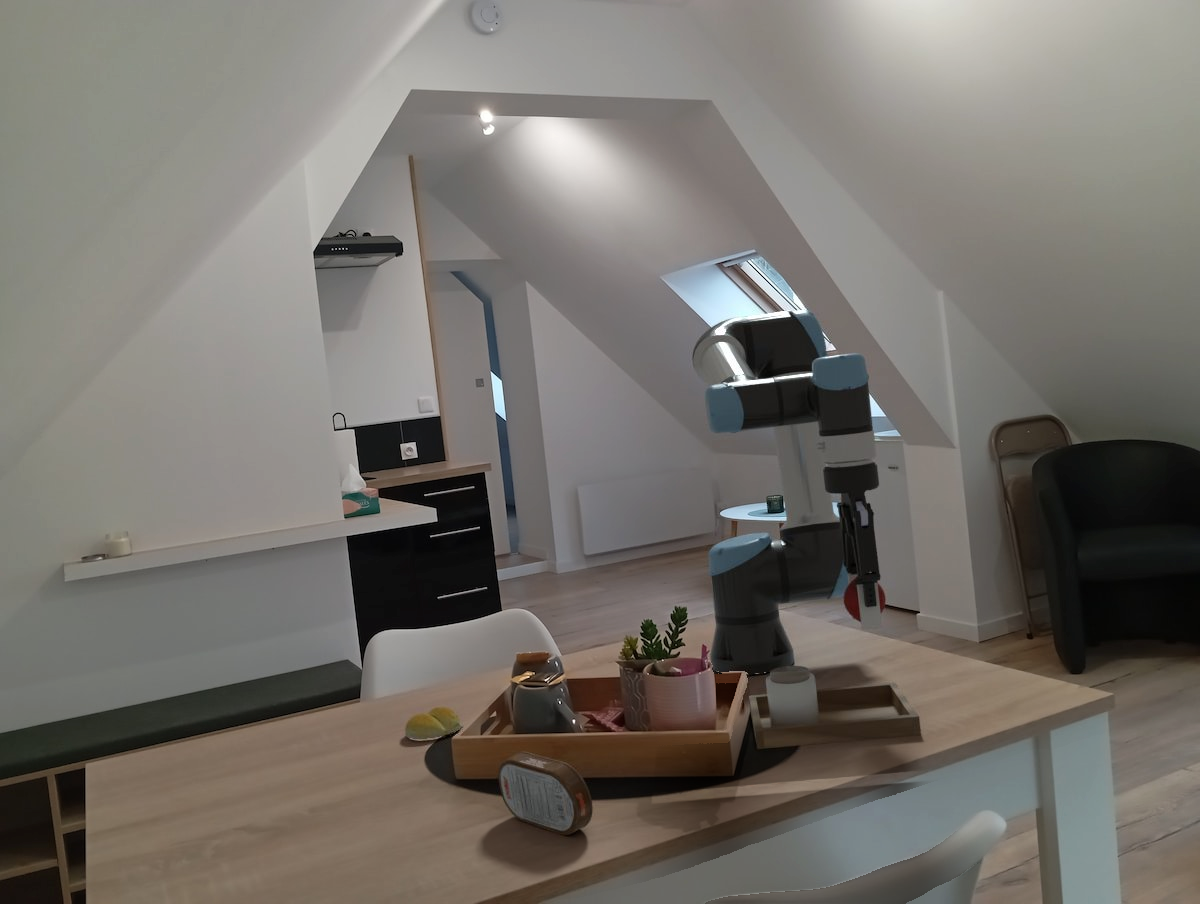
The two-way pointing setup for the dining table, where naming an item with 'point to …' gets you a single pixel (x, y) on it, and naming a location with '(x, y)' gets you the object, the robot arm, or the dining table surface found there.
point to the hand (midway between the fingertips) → (867, 622)
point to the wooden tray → (841, 717)
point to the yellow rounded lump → (433, 724)
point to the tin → (545, 793)
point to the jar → (792, 696)
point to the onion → (853, 602)
